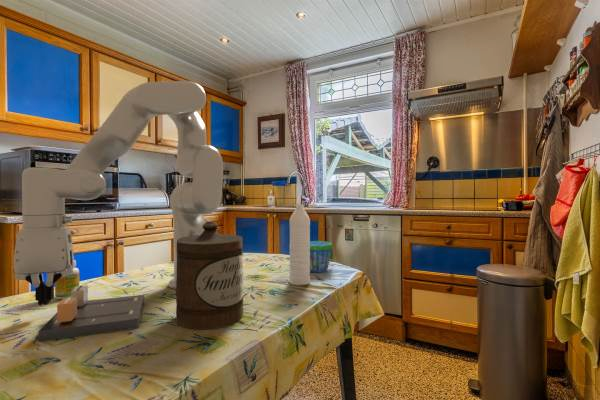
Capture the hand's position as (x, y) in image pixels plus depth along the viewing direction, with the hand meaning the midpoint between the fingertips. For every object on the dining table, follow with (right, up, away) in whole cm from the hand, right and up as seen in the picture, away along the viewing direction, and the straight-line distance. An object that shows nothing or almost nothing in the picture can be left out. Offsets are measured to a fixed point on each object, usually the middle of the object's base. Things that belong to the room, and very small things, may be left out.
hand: (44, 302), depth 73 cm
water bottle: (+59, -3, +28) cm, 65 cm away
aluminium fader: (+6, -1, +3) cm, 7 cm away
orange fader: (+10, -1, -6) cm, 12 cm away
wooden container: (+37, -4, +1) cm, 38 cm away
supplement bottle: (-6, -3, +15) cm, 16 cm away
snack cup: (+64, -3, +44) cm, 78 cm away
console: (+13, -4, -1) cm, 13 cm away
